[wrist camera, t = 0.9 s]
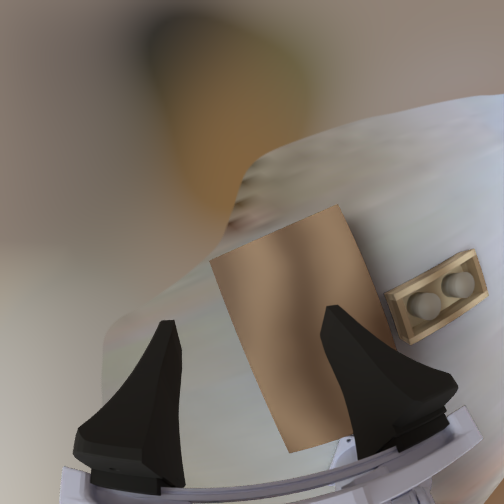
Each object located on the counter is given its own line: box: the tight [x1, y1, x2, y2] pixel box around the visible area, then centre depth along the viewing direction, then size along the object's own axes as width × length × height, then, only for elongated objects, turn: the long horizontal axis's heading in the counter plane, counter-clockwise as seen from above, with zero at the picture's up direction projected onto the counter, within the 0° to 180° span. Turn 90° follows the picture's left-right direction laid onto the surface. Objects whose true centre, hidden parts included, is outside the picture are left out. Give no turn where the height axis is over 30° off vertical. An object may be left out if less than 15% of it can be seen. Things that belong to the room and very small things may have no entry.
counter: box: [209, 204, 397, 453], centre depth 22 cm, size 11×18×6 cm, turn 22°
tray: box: [384, 249, 489, 345], centre depth 21 cm, size 10×5×4 cm, turn 112°
